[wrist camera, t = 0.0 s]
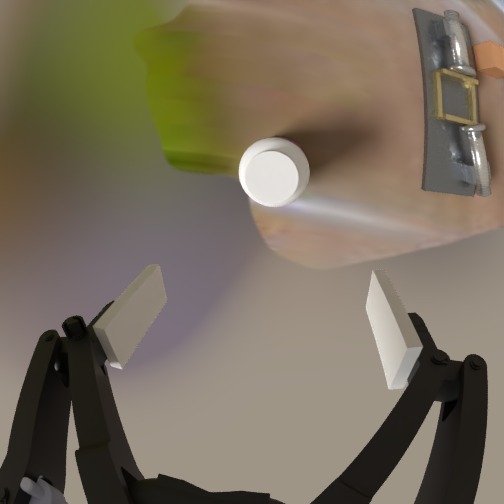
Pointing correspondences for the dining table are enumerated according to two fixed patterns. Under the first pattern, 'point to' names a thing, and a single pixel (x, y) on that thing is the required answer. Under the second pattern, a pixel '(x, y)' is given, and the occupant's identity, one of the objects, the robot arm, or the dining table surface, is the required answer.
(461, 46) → the shaft
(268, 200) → the pill bottle
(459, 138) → the board
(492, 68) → the block
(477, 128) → the shaft
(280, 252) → the dining table surface
